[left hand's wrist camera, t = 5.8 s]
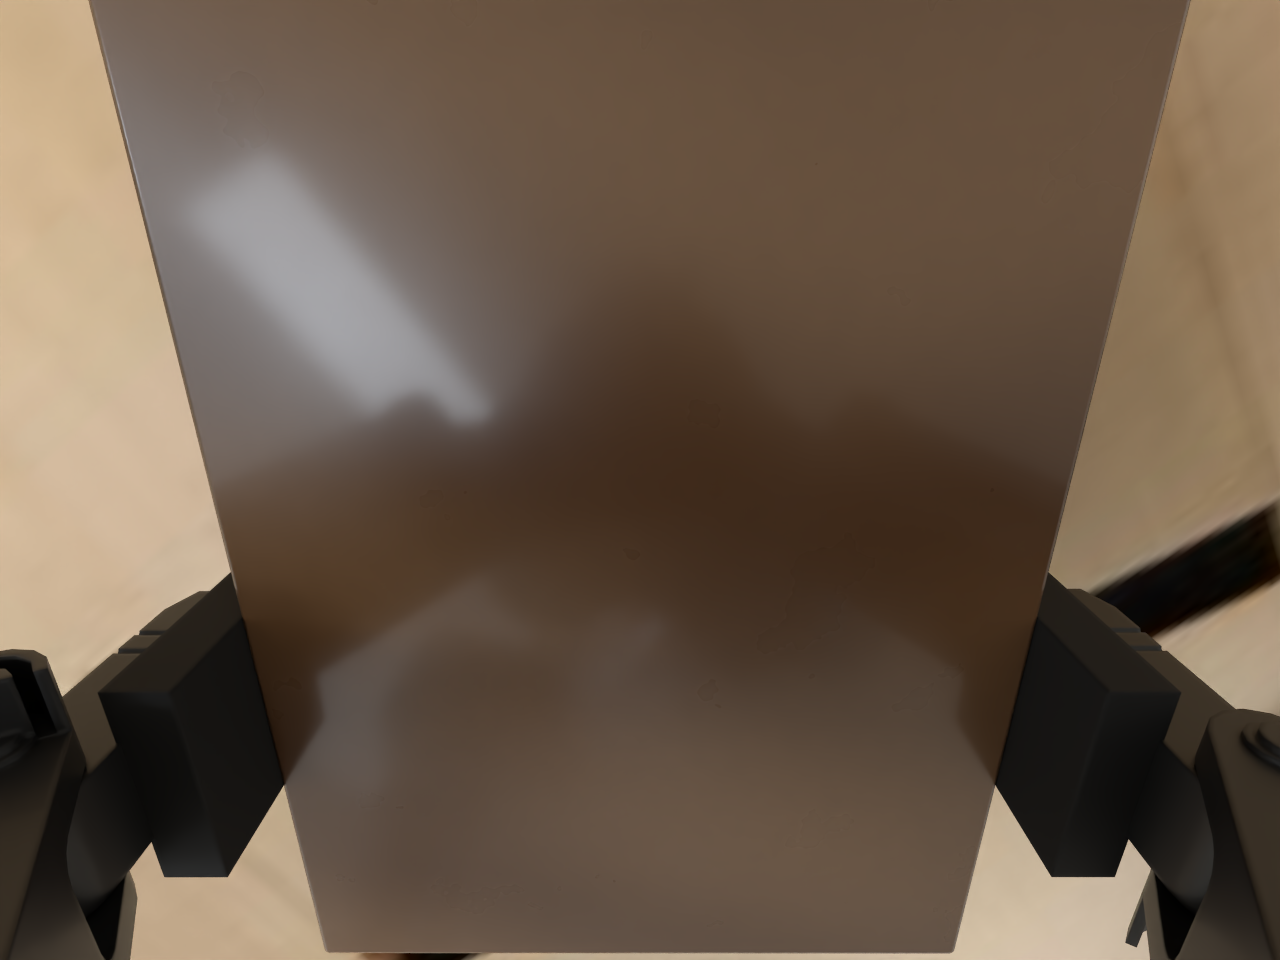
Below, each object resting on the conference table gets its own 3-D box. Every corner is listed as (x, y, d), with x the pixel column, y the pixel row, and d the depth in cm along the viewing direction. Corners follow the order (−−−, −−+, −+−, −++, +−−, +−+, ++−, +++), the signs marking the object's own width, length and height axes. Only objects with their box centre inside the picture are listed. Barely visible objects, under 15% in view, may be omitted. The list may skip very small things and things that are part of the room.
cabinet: (376, -198, 13) (-182, -1052, 4) (903, -197, 13) (1459, -1052, 4) (465, 620, 19) (323, 955, 11) (814, 620, 19) (954, 956, 11)
